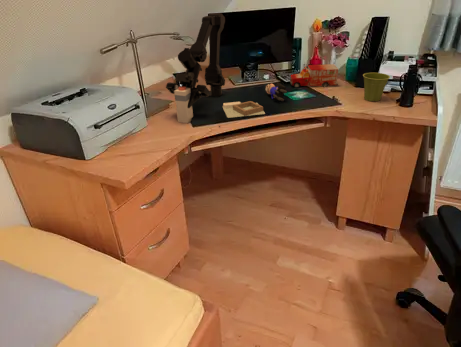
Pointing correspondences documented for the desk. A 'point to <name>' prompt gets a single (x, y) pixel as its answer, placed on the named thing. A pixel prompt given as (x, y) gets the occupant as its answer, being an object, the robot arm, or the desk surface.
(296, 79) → the red toy bus
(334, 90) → the desk surface
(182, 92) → the tapered square pillar
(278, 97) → the character figurine
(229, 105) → the plate
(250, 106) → the jig
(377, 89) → the plant pot
